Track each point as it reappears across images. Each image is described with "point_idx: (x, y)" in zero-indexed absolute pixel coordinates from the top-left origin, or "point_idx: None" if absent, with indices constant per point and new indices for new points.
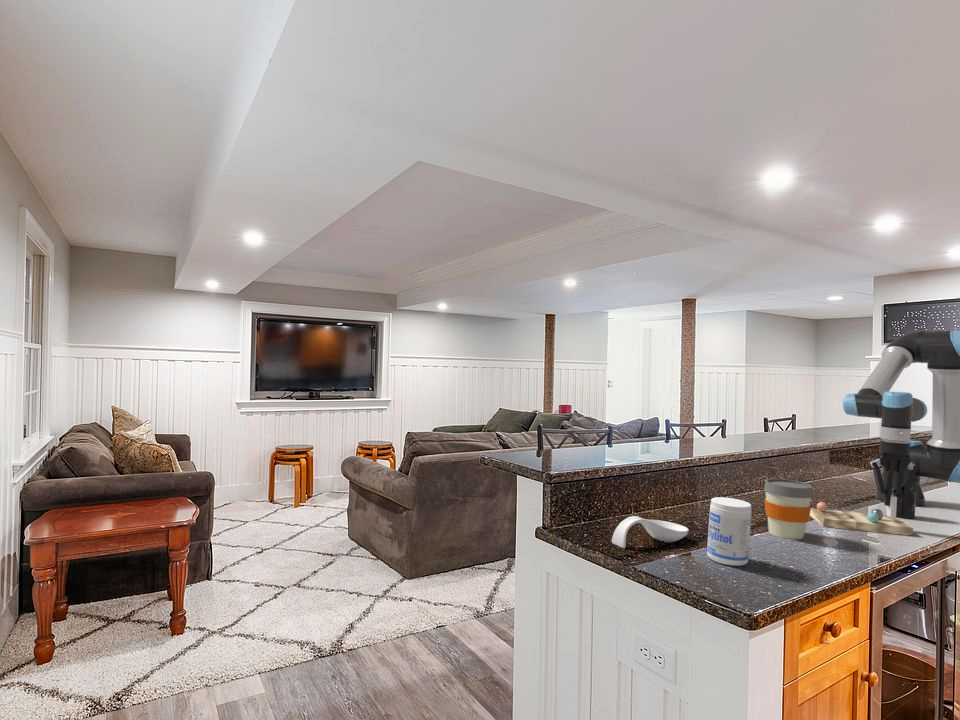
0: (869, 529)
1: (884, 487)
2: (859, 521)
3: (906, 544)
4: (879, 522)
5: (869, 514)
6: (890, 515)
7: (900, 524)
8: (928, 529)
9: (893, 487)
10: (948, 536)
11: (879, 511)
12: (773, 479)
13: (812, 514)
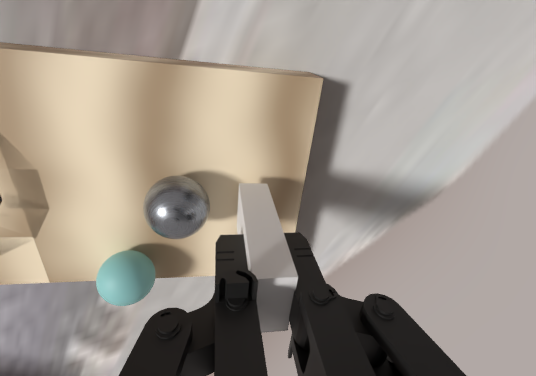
0: None
1: (215, 365)
2: (67, 268)
3: None
4: (169, 248)
5: (101, 295)
6: (237, 231)
7: None
8: (430, 122)
9: (318, 358)
10: (426, 202)
11: (179, 238)
12: None
13: None
